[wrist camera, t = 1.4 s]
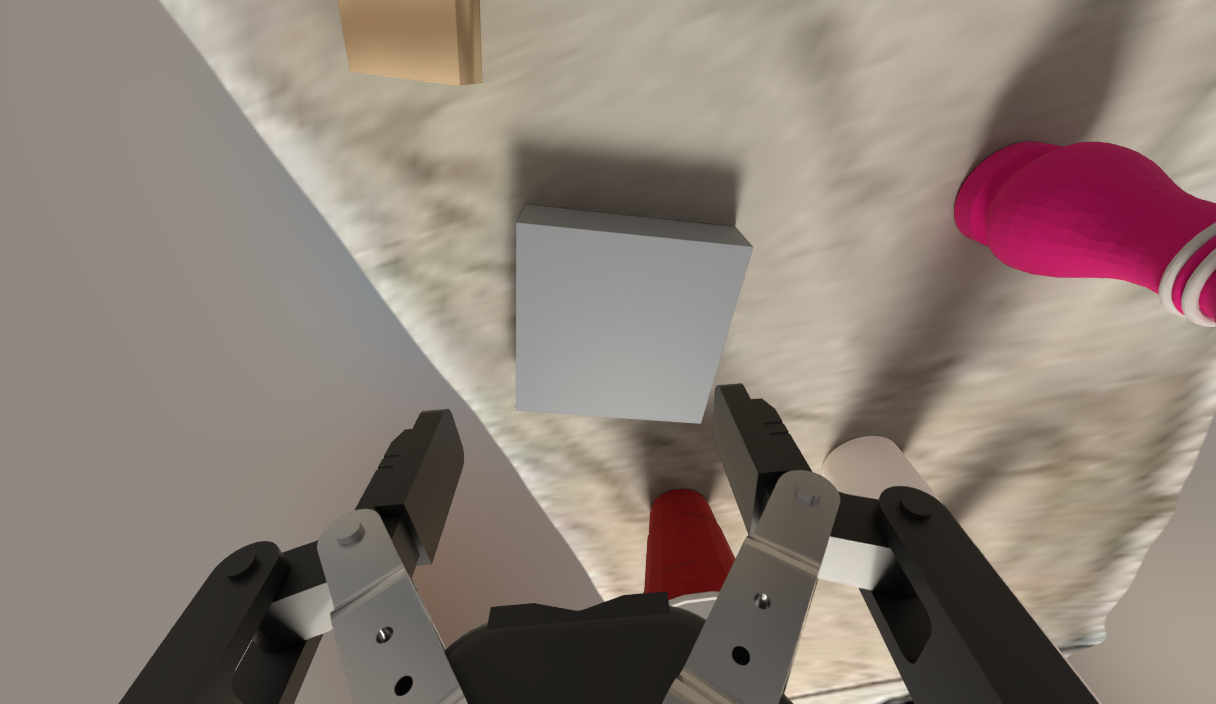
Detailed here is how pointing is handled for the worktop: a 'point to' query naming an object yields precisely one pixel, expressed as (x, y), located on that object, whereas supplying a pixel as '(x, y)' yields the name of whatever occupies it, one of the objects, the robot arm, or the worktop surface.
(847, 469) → the cylindrical container
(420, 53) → the oak cube
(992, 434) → the worktop surface
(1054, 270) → the pepper mill
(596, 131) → the worktop surface
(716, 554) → the plastic cup
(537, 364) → the slate plinth
